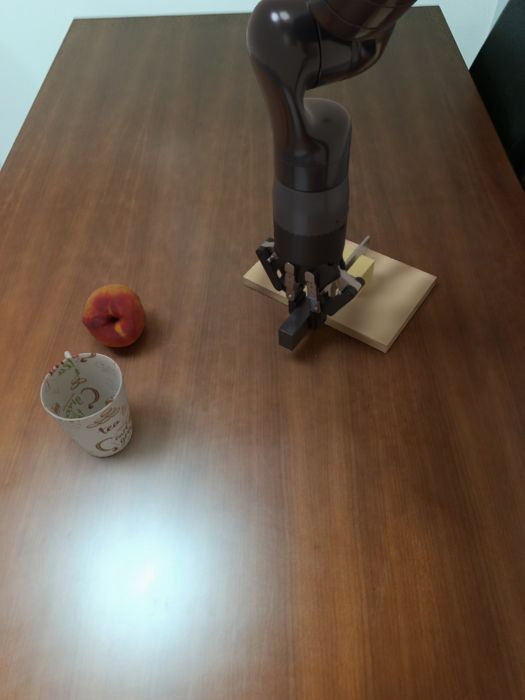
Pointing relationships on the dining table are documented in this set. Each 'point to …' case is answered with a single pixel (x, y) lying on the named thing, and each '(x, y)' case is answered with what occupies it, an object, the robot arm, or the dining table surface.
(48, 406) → the mug
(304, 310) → the screwdriver
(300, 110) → the robot arm
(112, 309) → the fruit
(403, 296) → the board
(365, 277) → the butter slice
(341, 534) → the dining table surface
